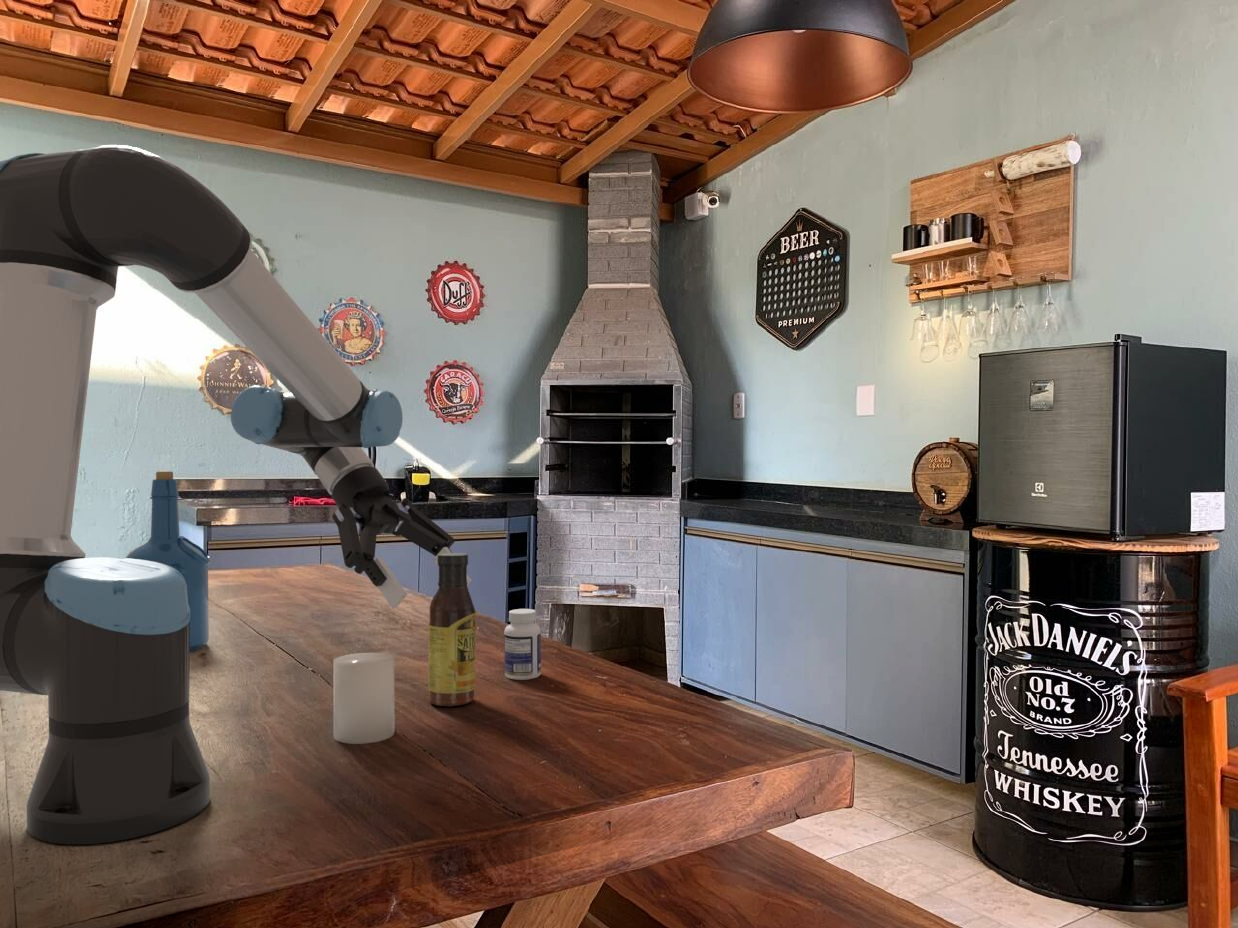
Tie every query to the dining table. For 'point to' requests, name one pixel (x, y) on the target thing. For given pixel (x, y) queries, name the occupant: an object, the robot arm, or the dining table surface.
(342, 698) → the white rounded cylinder
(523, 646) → the pill bottle
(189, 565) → the wine bottle
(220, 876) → the dining table surface
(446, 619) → the sauce bottle
